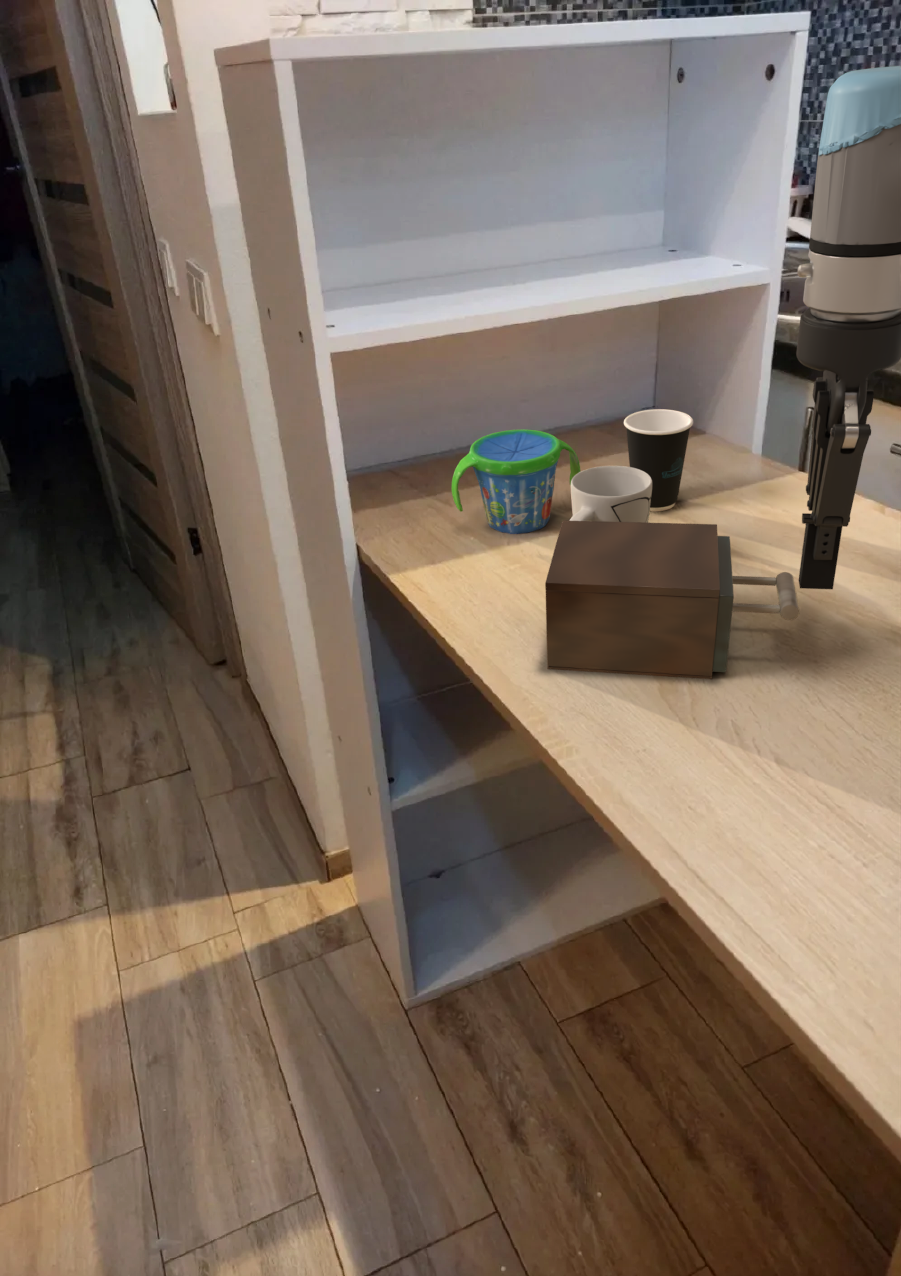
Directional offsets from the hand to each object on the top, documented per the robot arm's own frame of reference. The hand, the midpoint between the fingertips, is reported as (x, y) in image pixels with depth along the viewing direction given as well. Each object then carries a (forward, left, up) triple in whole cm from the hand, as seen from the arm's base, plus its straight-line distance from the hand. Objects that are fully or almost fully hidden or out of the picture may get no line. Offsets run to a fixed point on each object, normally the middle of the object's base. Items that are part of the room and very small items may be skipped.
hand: (815, 584), depth 82 cm
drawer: (+11, 0, -6) cm, 13 cm away
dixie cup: (+15, -31, -7) cm, 35 cm away
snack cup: (+31, -25, -7) cm, 40 cm away
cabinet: (+16, 0, -7) cm, 17 cm away
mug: (+20, -14, -7) cm, 25 cm away
